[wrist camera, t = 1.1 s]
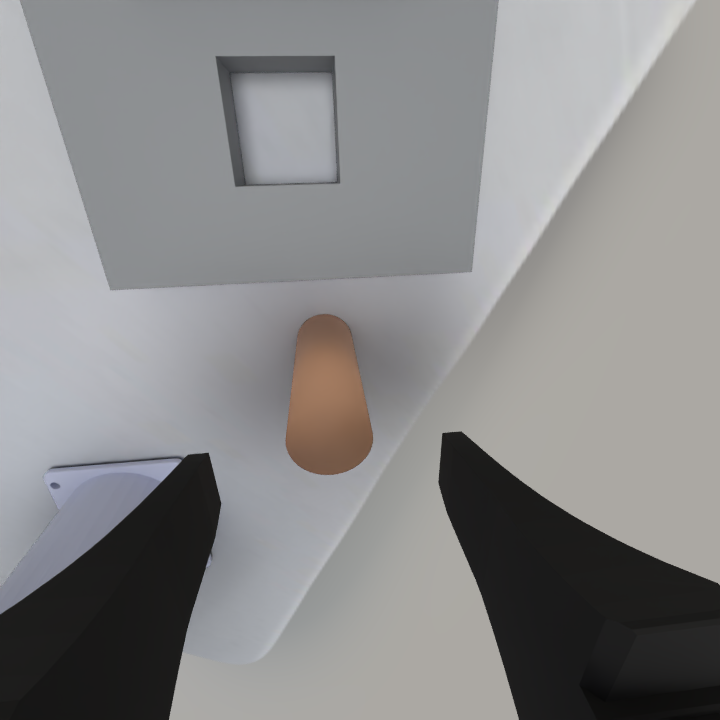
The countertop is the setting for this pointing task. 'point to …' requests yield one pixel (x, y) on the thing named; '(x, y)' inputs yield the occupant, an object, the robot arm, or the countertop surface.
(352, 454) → the peg
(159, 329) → the countertop surface
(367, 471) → the countertop surface
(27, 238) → the countertop surface
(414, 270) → the socket board
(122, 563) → the robot arm
